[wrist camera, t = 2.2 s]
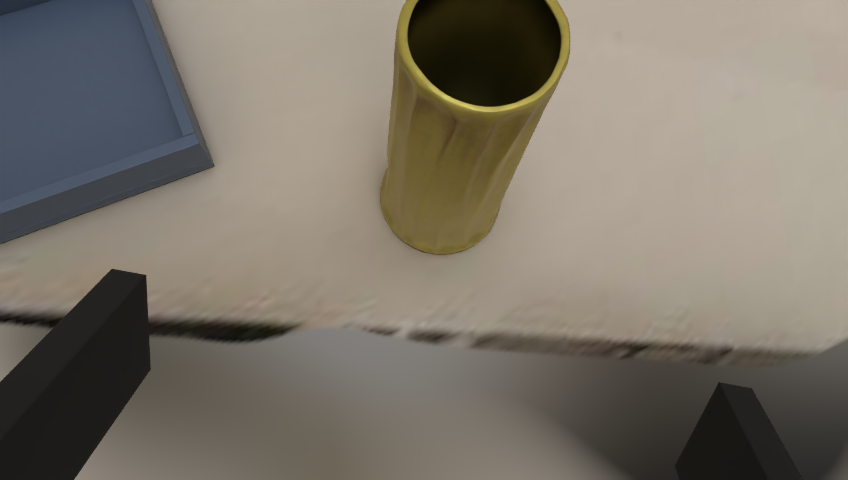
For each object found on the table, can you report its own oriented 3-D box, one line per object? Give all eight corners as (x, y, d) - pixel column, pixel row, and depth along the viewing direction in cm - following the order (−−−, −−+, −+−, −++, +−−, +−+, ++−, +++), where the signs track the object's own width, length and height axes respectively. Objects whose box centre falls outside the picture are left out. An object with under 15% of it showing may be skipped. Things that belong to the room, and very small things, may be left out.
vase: (504, 151, 33) (591, -38, 19) (493, 263, 31) (582, 142, 18) (389, 135, 33) (395, -68, 19) (372, 247, 31) (366, 112, 18)
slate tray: (214, 166, 32) (199, 143, 29) (-36, 257, 30) (-77, 241, 27) (141, -26, 35) (121, -63, 32) (-93, 45, 33) (-135, 12, 30)
